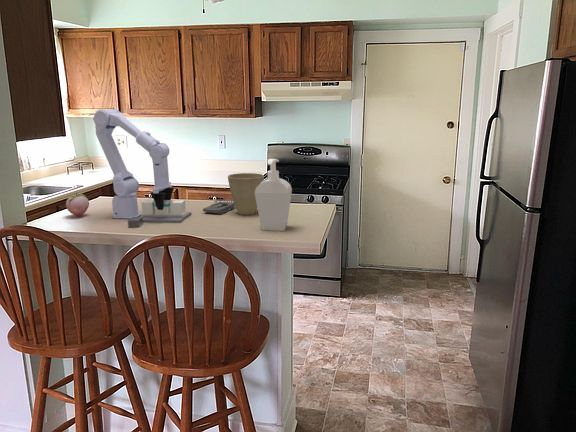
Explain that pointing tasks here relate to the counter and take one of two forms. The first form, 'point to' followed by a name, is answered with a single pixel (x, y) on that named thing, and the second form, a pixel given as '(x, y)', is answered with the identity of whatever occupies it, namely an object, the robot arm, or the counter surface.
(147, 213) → the mounting plate
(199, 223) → the counter surface
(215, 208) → the graphics card
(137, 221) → the box
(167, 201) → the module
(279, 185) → the soap bottle
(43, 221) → the counter surface
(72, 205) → the decorative fruit
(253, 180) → the plant pot
